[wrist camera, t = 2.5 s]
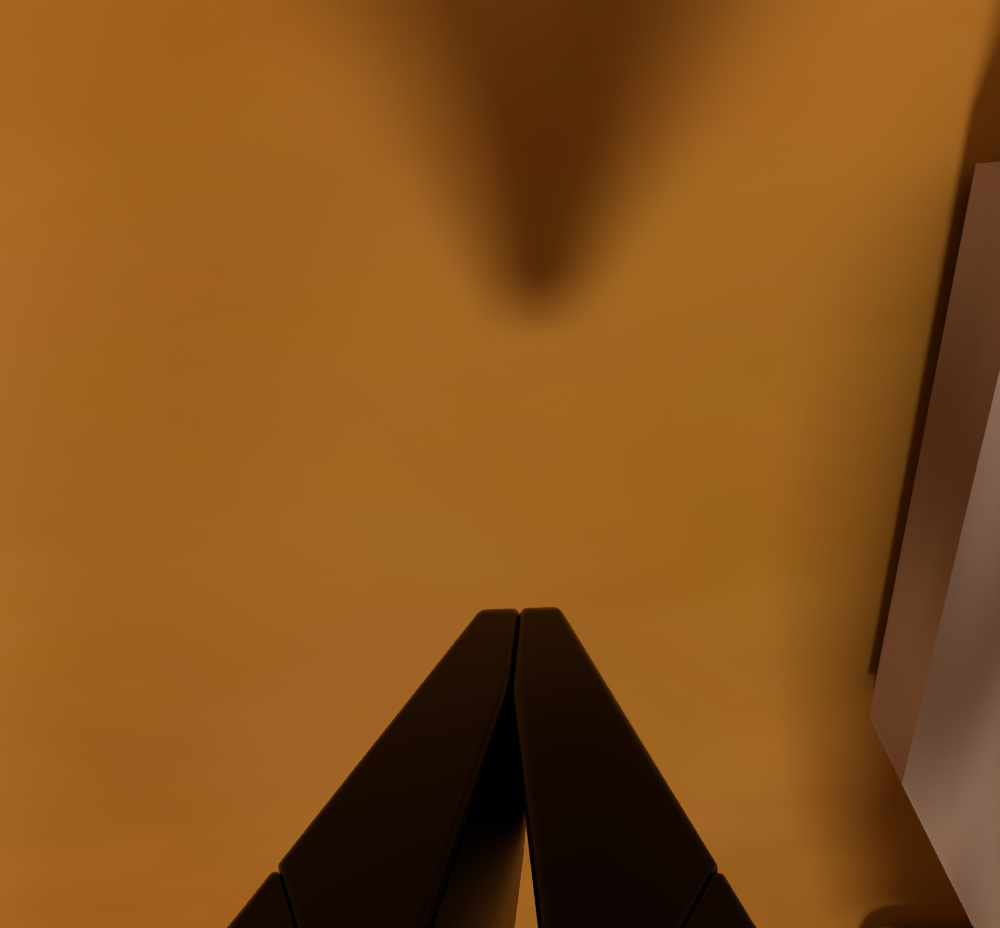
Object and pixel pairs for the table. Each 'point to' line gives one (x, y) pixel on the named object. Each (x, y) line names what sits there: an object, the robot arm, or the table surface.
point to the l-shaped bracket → (954, 586)
